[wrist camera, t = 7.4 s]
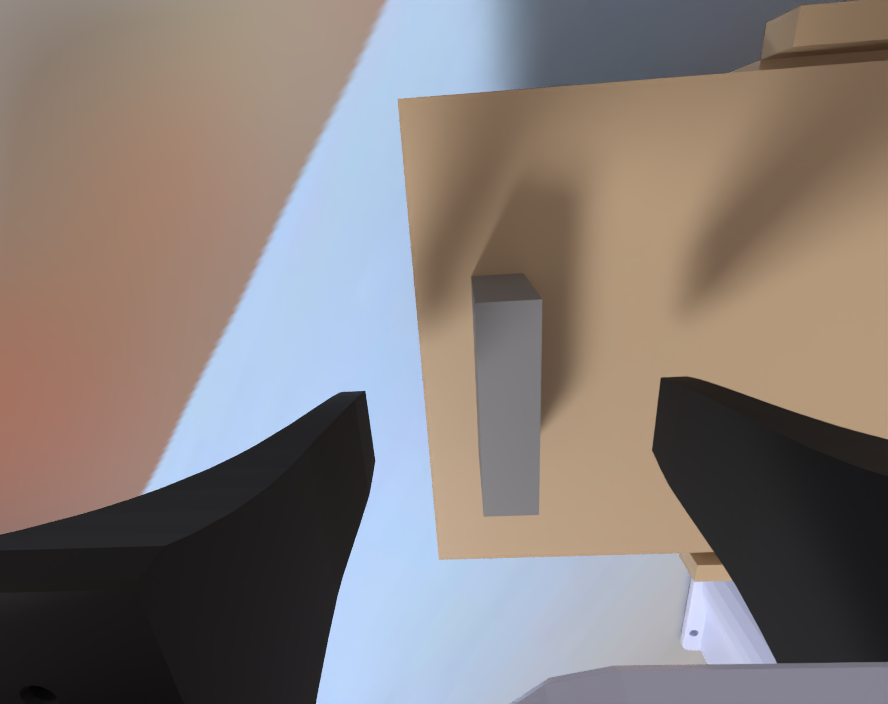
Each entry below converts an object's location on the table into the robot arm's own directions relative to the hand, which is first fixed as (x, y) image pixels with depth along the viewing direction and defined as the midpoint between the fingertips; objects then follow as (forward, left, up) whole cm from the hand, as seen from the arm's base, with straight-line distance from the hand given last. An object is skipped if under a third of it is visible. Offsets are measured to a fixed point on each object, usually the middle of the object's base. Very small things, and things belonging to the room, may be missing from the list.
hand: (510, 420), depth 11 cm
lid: (0, -5, -4) cm, 7 cm away
